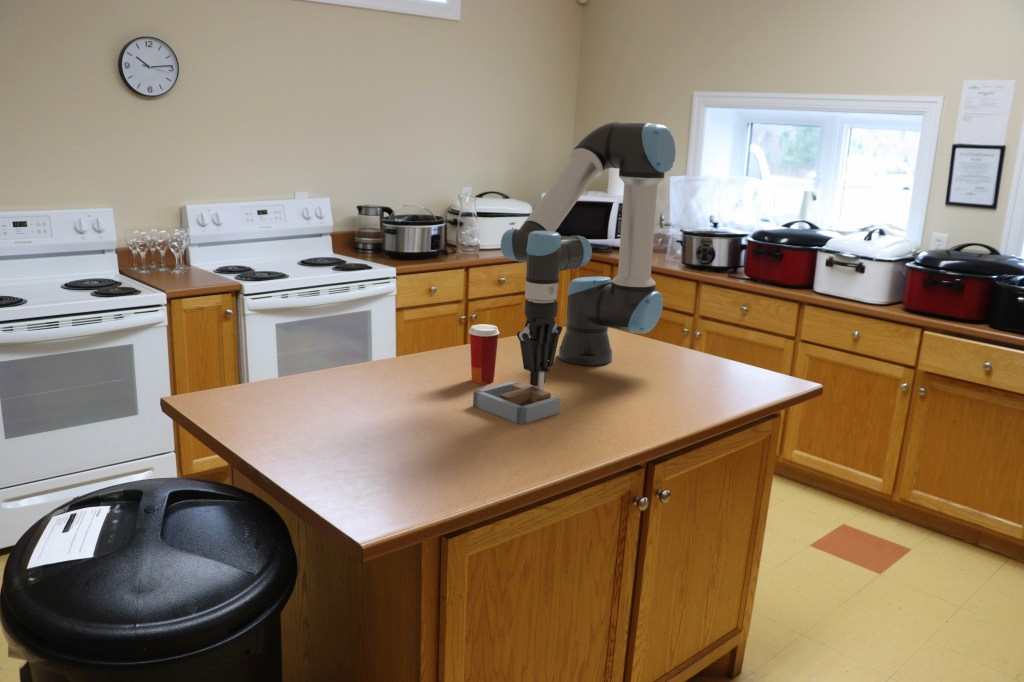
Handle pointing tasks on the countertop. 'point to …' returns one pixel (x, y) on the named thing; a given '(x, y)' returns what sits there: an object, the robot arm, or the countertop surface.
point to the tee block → (525, 394)
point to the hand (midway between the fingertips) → (537, 397)
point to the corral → (514, 405)
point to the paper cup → (483, 352)
